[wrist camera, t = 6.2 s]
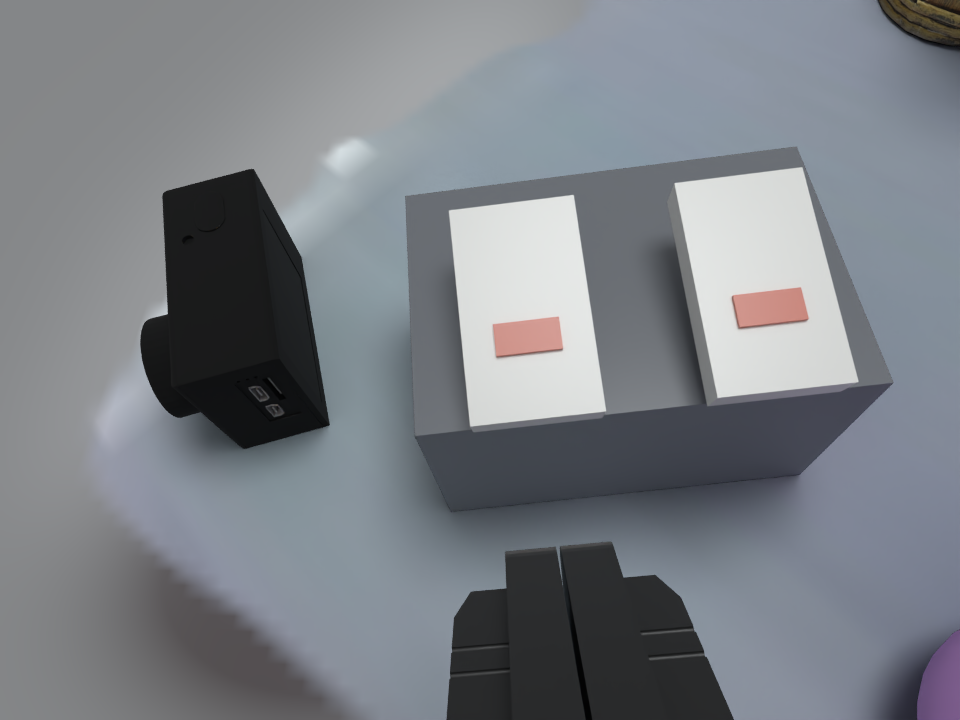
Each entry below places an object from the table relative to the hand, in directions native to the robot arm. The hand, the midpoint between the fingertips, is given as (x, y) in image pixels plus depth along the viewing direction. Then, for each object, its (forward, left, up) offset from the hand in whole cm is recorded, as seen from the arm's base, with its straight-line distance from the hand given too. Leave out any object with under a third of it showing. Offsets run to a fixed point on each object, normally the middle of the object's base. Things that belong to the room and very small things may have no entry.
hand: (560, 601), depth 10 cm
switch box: (-12, -4, -19) cm, 23 cm away
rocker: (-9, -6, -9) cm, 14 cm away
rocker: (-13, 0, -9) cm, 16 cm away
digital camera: (-6, -20, -19) cm, 28 cm away
